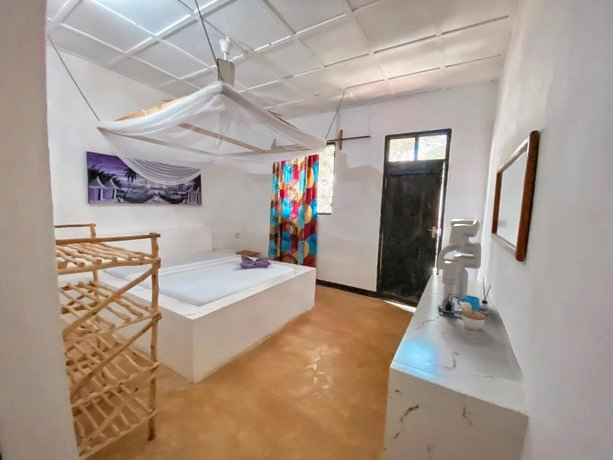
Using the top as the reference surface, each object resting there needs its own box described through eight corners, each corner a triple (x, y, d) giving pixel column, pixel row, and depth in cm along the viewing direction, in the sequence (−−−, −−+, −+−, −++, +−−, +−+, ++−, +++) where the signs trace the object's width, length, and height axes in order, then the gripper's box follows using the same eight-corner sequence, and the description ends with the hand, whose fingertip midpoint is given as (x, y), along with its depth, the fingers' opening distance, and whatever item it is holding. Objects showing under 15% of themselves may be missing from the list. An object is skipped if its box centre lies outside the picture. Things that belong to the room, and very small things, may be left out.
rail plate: (437, 307, 161) (437, 296, 161) (469, 311, 154) (469, 300, 154) (439, 315, 148) (440, 304, 148) (474, 320, 141) (475, 308, 141)
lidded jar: (488, 333, 127) (489, 315, 126) (465, 330, 129) (467, 314, 128) (478, 323, 137) (479, 307, 137) (457, 322, 140) (458, 306, 139)
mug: (478, 309, 158) (479, 297, 158) (478, 313, 152) (479, 301, 151) (457, 305, 165) (457, 293, 165) (456, 309, 159) (457, 296, 158)
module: (440, 307, 157) (441, 298, 157) (452, 308, 155) (453, 299, 154) (442, 311, 151) (442, 301, 150) (454, 312, 148) (454, 303, 148)
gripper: (440, 276, 161) (439, 302, 162) (444, 284, 145) (442, 312, 146) (453, 278, 158) (452, 304, 159) (458, 285, 142) (456, 315, 143)
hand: (447, 308), depth 153 cm, fingers closed on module, 6 cm apart
